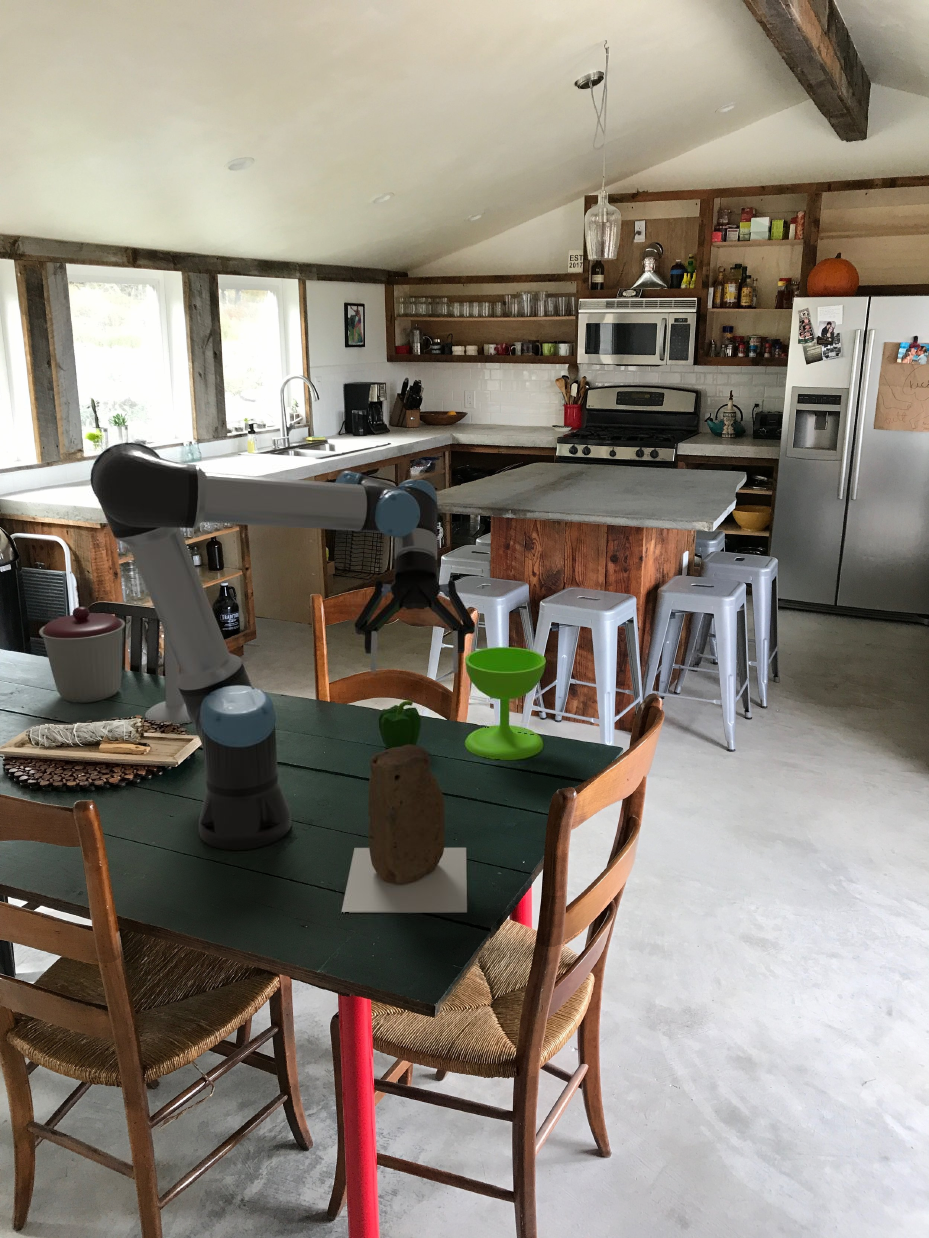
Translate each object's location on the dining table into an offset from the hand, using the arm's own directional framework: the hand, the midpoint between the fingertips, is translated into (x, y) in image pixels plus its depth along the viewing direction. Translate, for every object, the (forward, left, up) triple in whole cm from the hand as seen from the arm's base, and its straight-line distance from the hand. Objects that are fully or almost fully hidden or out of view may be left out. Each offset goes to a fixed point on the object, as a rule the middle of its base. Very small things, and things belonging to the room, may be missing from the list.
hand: (414, 670), depth 161 cm
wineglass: (+16, +30, -27) cm, 44 cm away
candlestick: (-55, +46, -27) cm, 76 cm away
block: (-1, -19, -26) cm, 32 cm away
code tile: (-1, -21, -26) cm, 34 cm away
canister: (-78, +58, -27) cm, 101 cm away
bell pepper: (-5, +28, -27) cm, 39 cm away
